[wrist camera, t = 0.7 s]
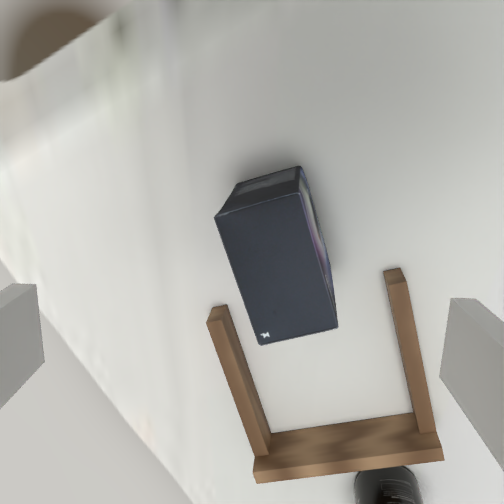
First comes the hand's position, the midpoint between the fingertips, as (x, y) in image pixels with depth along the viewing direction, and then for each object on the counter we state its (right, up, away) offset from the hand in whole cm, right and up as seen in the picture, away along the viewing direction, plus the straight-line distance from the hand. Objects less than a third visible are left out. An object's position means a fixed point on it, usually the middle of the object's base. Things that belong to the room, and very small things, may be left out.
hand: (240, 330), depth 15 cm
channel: (+7, -8, +31) cm, 33 cm away
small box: (+3, +5, +27) cm, 27 cm away
